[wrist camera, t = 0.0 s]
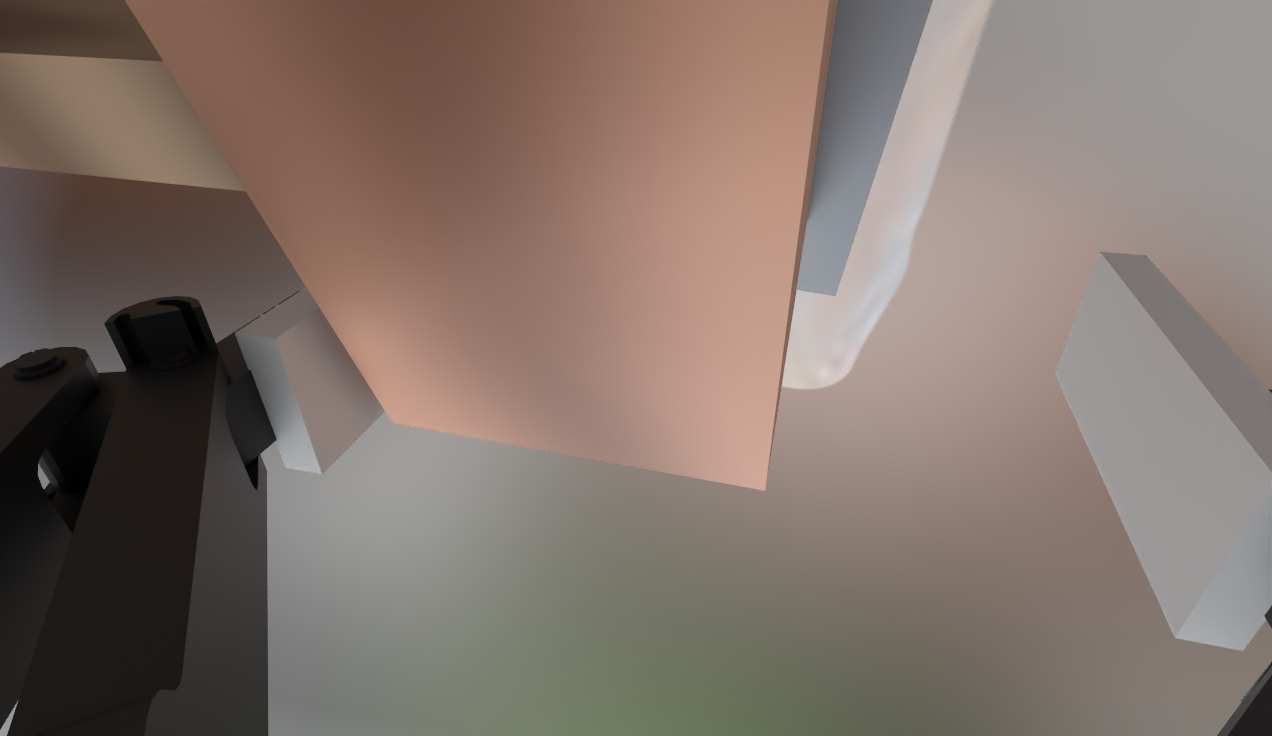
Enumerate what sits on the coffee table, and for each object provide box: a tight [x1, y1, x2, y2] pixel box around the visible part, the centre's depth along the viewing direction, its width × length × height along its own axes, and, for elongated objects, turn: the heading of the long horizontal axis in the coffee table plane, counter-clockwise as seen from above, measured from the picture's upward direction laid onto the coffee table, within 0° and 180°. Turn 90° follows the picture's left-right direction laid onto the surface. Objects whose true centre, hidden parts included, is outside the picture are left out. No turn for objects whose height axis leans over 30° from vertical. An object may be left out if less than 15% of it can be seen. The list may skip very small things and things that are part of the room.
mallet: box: [0, 0, 838, 491], centre depth 12 cm, size 23×9×7 cm, turn 95°
